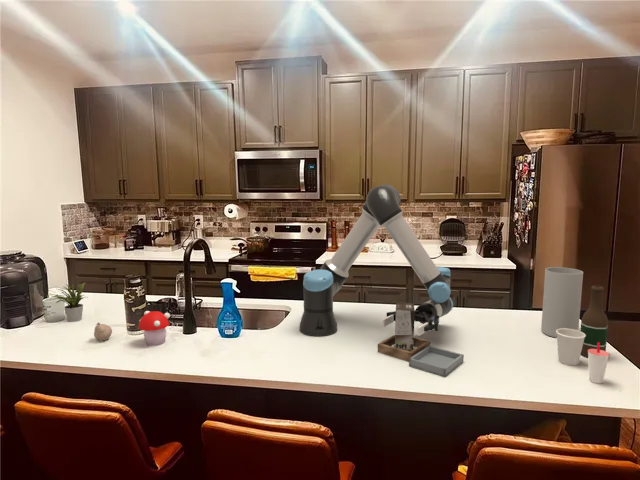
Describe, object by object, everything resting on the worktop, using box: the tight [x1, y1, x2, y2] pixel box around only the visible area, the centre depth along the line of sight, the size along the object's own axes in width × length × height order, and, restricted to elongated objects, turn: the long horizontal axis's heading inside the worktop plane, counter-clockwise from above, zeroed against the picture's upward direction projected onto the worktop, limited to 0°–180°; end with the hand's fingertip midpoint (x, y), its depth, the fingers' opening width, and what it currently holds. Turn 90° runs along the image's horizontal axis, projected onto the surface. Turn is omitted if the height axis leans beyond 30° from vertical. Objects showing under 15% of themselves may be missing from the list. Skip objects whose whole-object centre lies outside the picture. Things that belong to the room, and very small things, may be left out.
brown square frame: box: [377, 334, 431, 362], centre depth 149 cm, size 13×14×3 cm
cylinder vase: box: [540, 266, 584, 339], centre depth 163 cm, size 12×12×25 cm
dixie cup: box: [556, 328, 586, 367], centre depth 139 cm, size 8×8×10 cm
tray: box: [408, 345, 465, 378], centre depth 138 cm, size 12×14×2 cm
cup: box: [587, 342, 610, 385], centre depth 125 cm, size 5×5×12 cm
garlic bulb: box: [93, 322, 113, 342], centre depth 161 cm, size 7×6×8 cm
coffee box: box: [394, 302, 416, 352], centre depth 148 cm, size 9×6×16 cm
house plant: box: [51, 282, 89, 323], centre depth 185 cm, size 14×14×16 cm
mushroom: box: [138, 310, 171, 347], centre depth 157 cm, size 11×11×12 cm
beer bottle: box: [579, 285, 609, 359], centre depth 143 cm, size 8×8×24 cm
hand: (400, 327), depth 146 cm, fingers open, 13 cm apart
